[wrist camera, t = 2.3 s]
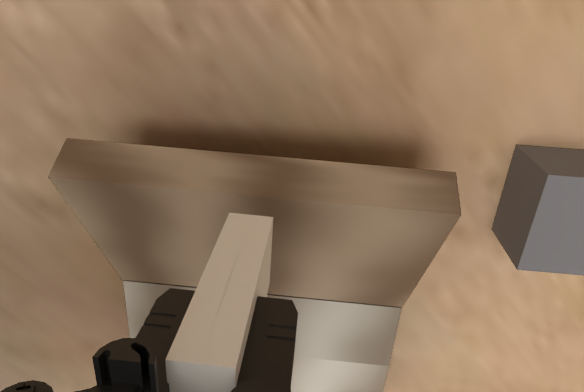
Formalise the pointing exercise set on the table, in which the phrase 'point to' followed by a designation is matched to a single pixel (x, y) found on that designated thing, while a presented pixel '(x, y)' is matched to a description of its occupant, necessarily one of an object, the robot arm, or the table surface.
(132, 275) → the board
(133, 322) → the laid floor rows
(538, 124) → the table surface
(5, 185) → the table surface
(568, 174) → the block
